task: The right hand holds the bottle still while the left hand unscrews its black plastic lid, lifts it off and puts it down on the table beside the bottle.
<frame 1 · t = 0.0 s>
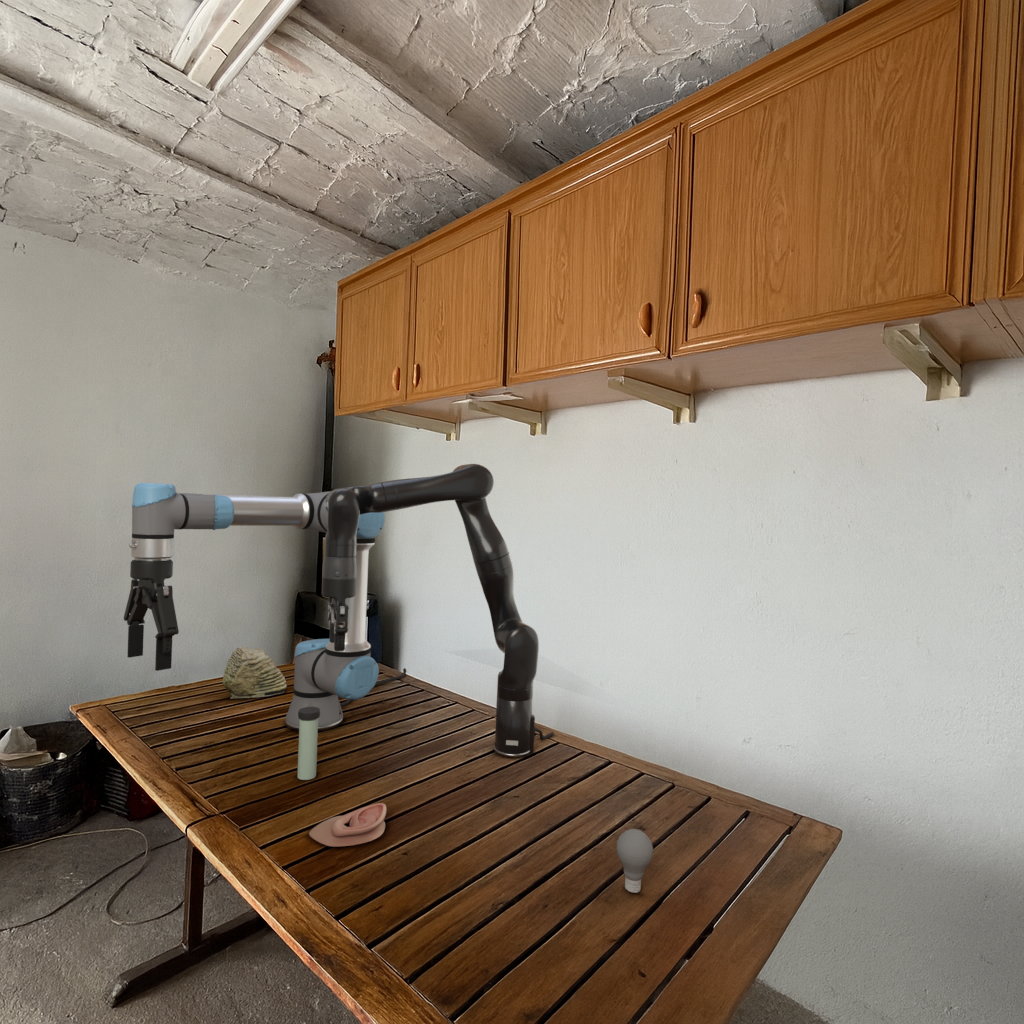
left hand: (148, 662, 129), 28 cm above the table, tool pointing down, fingers open, 13 cm apart
right hand: (336, 646, 145), 29 cm above the table, tool pointing down, fingers open, 8 cm apart
lid: (309, 711, 143), point 15 cm above the table, screwed on, not yet turned
anatomical model: (348, 832, 120), on the table
fossil: (254, 694, 198), on the table
light bulb: (632, 891, 106), on the table
bottle: (306, 776, 143), on the table
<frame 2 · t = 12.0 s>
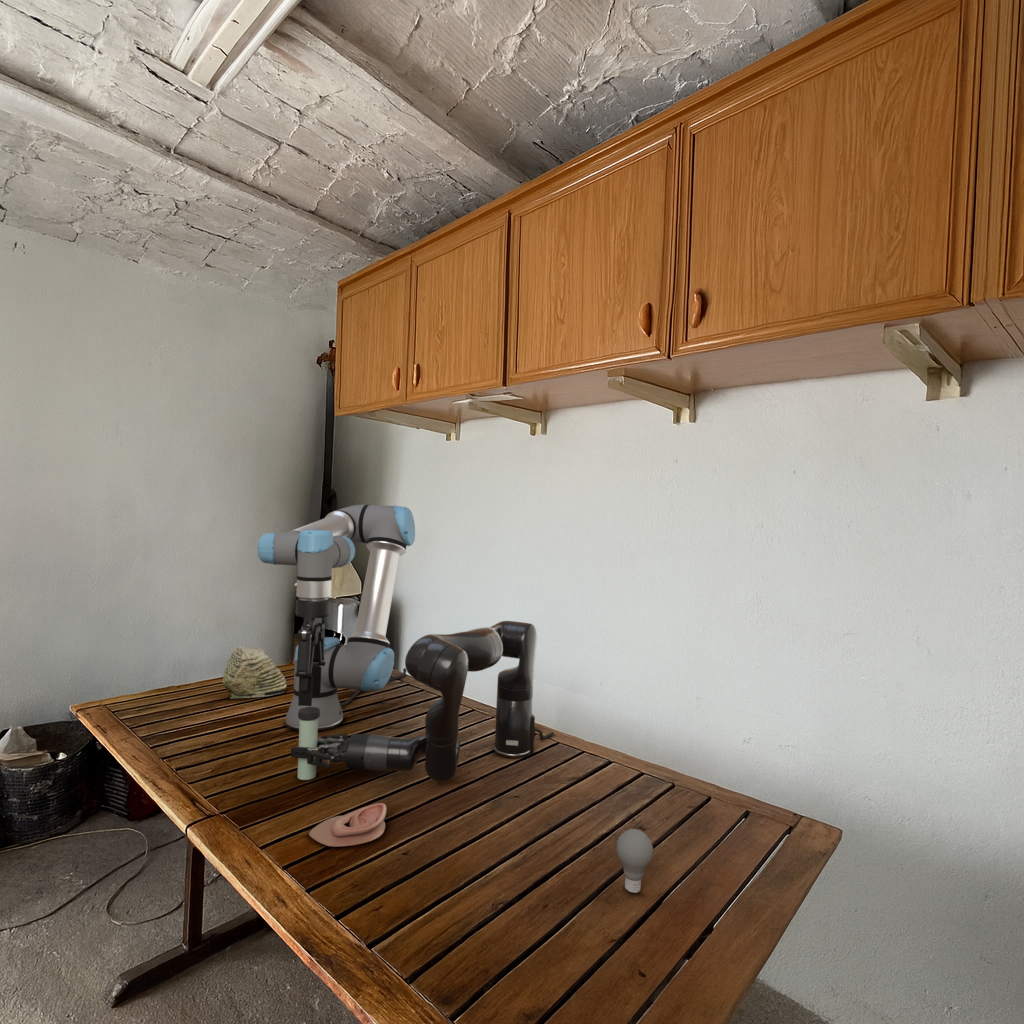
left hand: (309, 699, 143), 17 cm above the table, tool pointing down, fingers open, 7 cm apart
right hand: (295, 747, 143), 6 cm above the table, tool horizontal, fingers closed on bottle, 4 cm apart
bottle: (306, 776, 143), on the table, touching right hand
everything else where it was.
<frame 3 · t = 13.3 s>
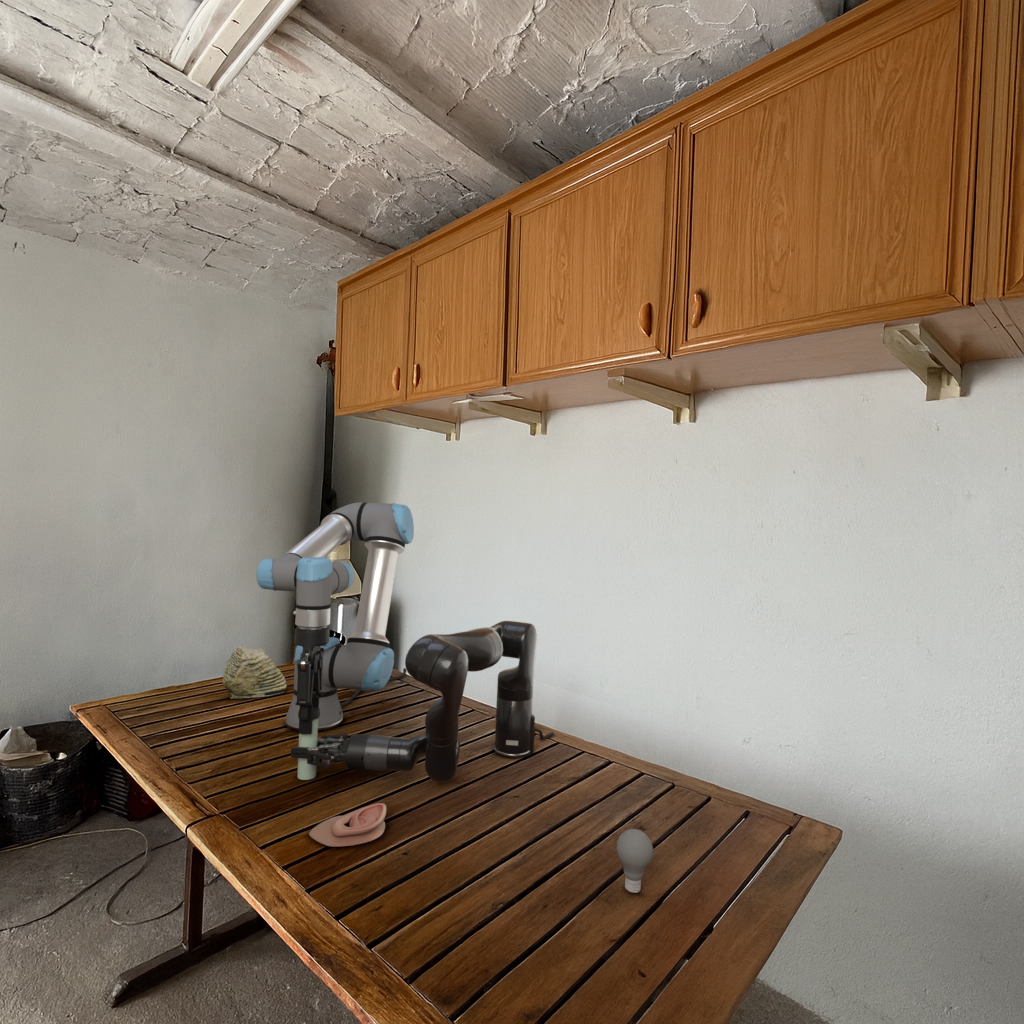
left hand: (308, 728, 143), 11 cm above the table, tool pointing down, fingers closed on lid, 5 cm apart
right hand: (295, 747, 143), 6 cm above the table, tool horizontal, fingers closed on bottle, 4 cm apart
lid: (309, 711, 143), point 15 cm above the table, screwed on, not yet turned, touching left hand
bottle: (306, 776, 143), on the table, touching right hand
everything else where it was.
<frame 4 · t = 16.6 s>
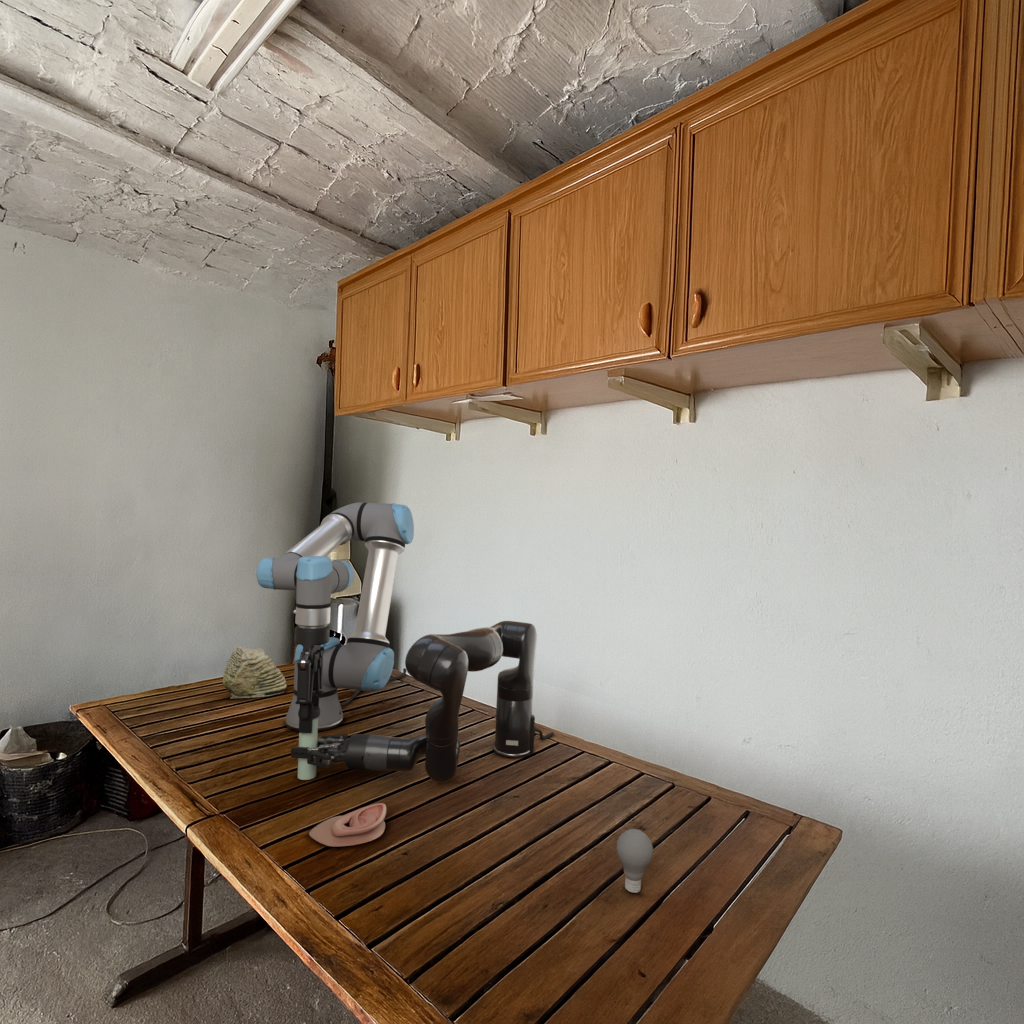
left hand: (308, 727, 143), 11 cm above the table, tool pointing down, fingers closed on lid, 4 cm apart
right hand: (295, 747, 143), 6 cm above the table, tool horizontal, fingers closed on bottle, 4 cm apart
lid: (309, 710, 143), point 15 cm above the table, turned 84° so far, risen 0.2 cm, still on its thread, touching left hand
bottle: (306, 776, 143), on the table, touching right hand
everything else where it was.
when the left hand's fingers open (0 cm above the table, at t = 23.3 s): lid drops 3 cm, point 1 cm above the table.
when the right hand's fingers open (6 cm above the table, at t = 23.8 s): bottle stays where it is, on the table.
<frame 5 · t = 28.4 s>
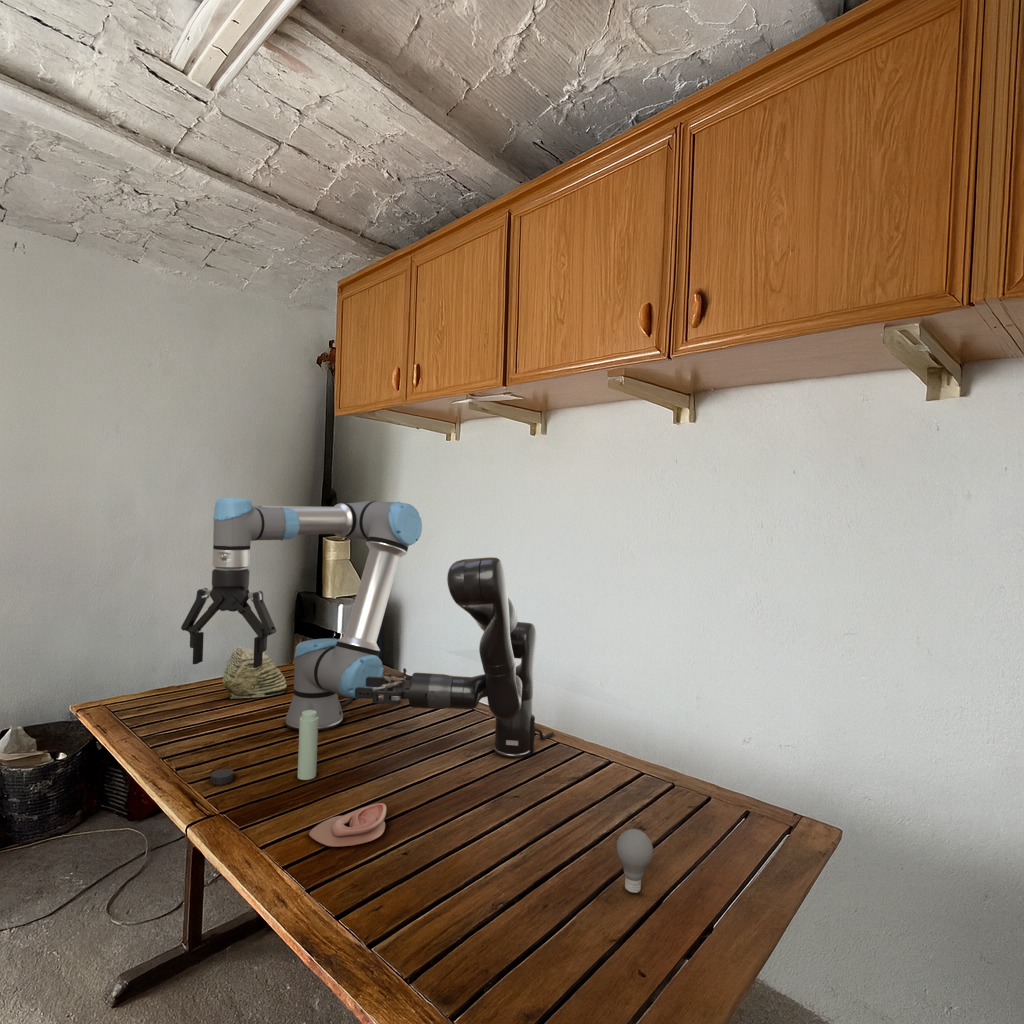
left hand: (227, 664, 139), 25 cm above the table, tool pointing down, fingers open, 13 cm apart
right hand: (360, 686, 142), 21 cm above the table, tool horizontal, fingers open, 8 cm apart
lid: (222, 774, 139), point 1 cm above the table, off its thread
bottle: (306, 776, 143), on the table
everything else where it was.
at the end: lid came off its thread; lid point 1.2 cm above the table; the left hand is holding nothing; the right hand is holding nothing; bottle tilted 0°; bottle moved 0.0 cm from its start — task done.
